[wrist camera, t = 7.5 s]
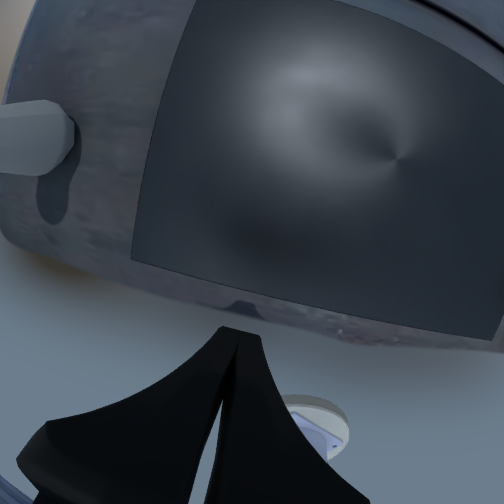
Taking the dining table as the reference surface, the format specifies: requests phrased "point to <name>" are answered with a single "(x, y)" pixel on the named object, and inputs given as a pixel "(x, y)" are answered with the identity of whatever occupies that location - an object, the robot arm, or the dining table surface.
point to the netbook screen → (329, 166)
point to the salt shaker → (34, 137)
